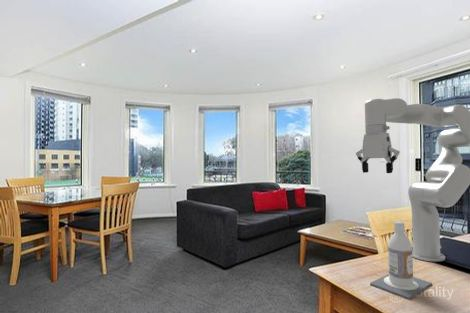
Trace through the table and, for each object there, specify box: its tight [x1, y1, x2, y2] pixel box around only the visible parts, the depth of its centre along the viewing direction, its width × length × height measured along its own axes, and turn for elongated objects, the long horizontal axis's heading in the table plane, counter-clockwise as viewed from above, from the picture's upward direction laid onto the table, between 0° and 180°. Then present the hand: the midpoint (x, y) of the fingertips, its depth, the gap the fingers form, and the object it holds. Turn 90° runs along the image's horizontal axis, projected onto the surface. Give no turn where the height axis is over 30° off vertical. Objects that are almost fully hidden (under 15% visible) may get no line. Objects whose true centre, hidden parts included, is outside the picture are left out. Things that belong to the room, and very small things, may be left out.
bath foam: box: [387, 220, 414, 286], centre depth 92 cm, size 7×7×20 cm
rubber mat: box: [369, 273, 433, 300], centre depth 92 cm, size 16×12×1 cm
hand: (377, 172), depth 111 cm, fingers open, 9 cm apart
